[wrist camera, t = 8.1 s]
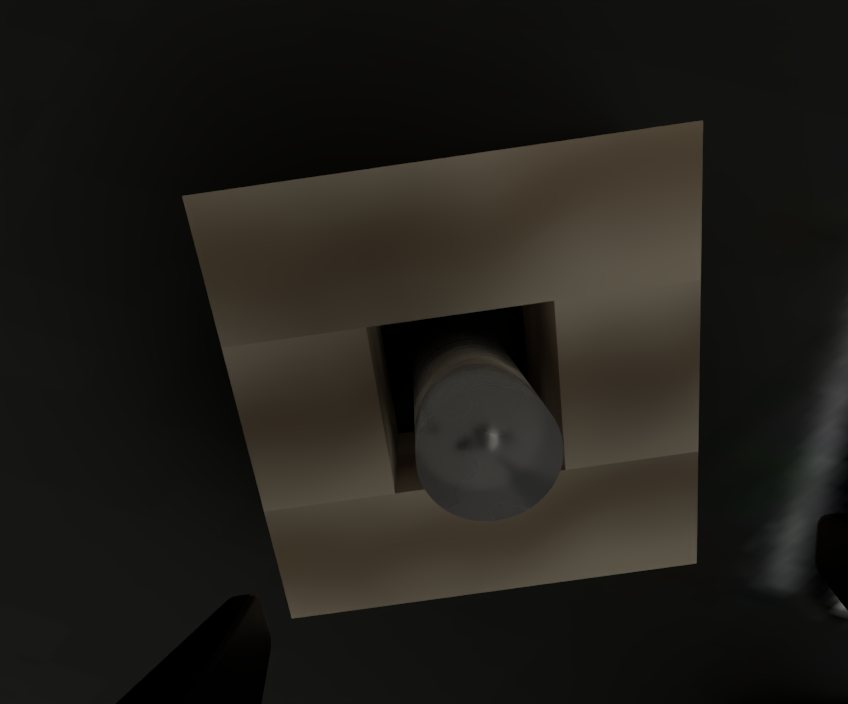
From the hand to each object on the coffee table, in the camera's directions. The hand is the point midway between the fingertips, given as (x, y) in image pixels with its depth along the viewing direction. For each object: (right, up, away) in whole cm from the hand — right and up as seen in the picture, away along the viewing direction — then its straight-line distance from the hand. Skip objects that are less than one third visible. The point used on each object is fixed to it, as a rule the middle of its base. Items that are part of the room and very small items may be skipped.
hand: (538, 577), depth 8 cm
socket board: (-1, +3, +11) cm, 12 cm away
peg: (-1, +3, +11) cm, 12 cm away
